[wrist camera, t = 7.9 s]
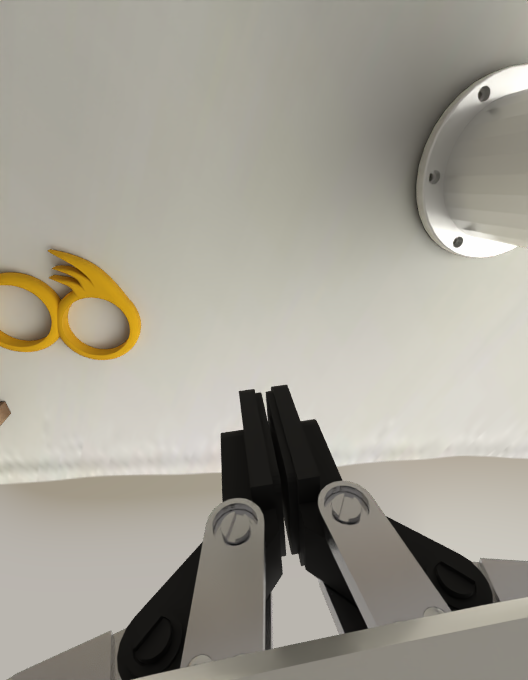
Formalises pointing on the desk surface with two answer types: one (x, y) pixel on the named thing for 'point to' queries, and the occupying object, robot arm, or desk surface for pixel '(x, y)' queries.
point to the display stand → (4, 412)
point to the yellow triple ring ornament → (83, 285)
